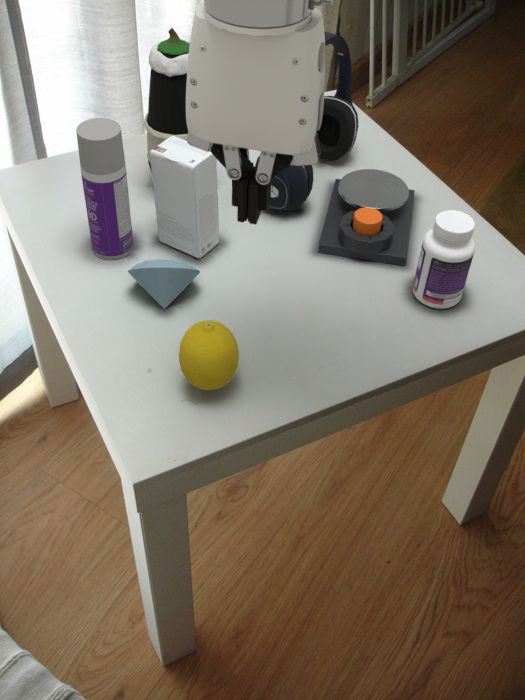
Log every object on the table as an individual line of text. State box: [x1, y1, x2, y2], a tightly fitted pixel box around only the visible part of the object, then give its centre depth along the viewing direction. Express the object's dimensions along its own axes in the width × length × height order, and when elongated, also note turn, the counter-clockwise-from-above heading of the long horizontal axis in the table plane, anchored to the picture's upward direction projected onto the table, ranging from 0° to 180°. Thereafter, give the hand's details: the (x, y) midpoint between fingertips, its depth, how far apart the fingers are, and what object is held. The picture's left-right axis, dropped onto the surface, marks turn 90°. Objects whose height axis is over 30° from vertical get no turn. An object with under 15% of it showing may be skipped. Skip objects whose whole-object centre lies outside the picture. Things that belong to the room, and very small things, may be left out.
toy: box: [143, 27, 190, 174], centre depth 92 cm, size 8×8×20 cm
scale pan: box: [339, 168, 409, 212], centre depth 94 cm, size 8×8×1 cm
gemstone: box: [127, 259, 201, 310], centre depth 83 cm, size 8×8×5 cm
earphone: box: [254, 30, 359, 212], centre depth 95 cm, size 20×7×18 cm, turn 152°
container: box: [75, 117, 134, 261], centre depth 84 cm, size 5×5×15 cm
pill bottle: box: [412, 209, 476, 310], centre depth 83 cm, size 5×5×10 cm
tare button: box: [353, 207, 383, 236], centre depth 89 cm, size 3×3×2 cm
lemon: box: [178, 319, 240, 391], centre depth 72 cm, size 6×6×8 cm
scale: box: [317, 178, 416, 267], centre depth 94 cm, size 10×14×3 cm
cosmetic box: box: [149, 136, 220, 259], centre depth 87 cm, size 6×4×12 cm
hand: (250, 213), depth 67 cm, fingers closed
